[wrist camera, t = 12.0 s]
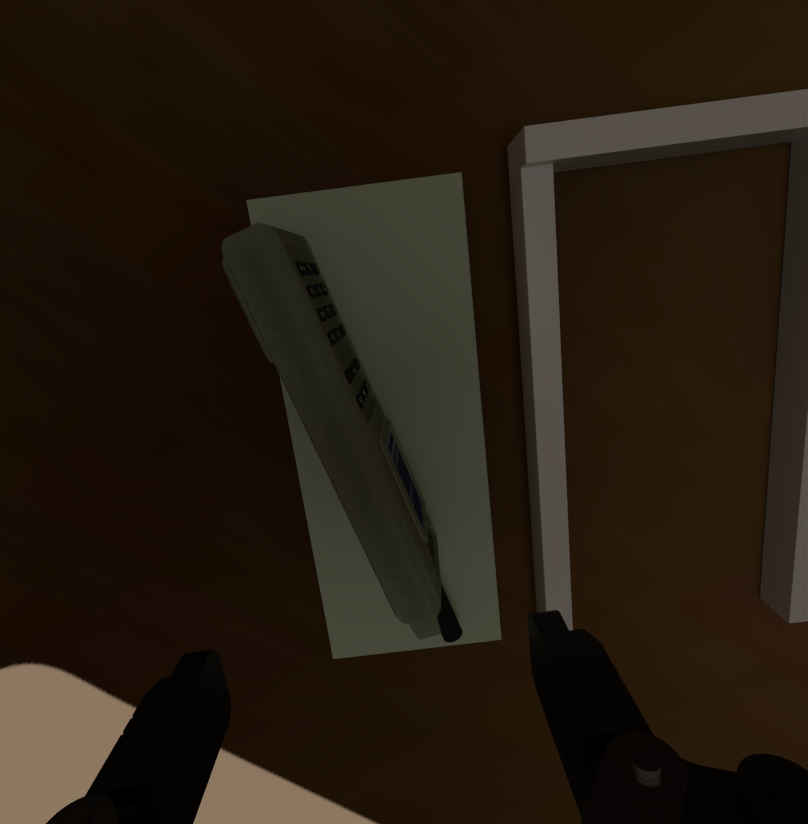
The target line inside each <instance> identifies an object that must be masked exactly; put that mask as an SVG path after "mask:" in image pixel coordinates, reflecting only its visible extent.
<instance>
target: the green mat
mask: <svg viewBox="0 0 808 824" xmlns="http://www.w3.org/2000/svg"><path fill="white" fill-rule="evenodd" d="M246 201H247V206H248V212H249V217H250V222H251V225H254V224H256V223H261V224H266V225H270V226H273V227H276V228H279V229H282V230H285V231H288V232H291V233H294V234H298V235H301V236H303V237H305V239H306V240H307V242H308V244H309V246H310V248H311V251H312V253H313V255H314V258H315V260H316V262H317V264H318V267H319V269H320V271H321V273H322V276H323V278H324V280H325V282H326V285H327V287H328V289H329V291H330V294H331V296H332V298H333V300H334V303H335V305H336V307H337V310H338V312H339V314H340V316H341V319H342V321H343V323H344V325H345V328H346V330H347V332H348V334H349V337H350V339H351V341H352V343H353V346H354V348H355V350H356V353H357V355H358V357H359V359H360V362H361V364H362V366H363V368H364V371H365V373H366V375H367V377H368V380H369V382H370V384H371V386H372V389H373V391H374V393H375V396H376V398H377V400H378V401H379V404H380V406H381V408H382V410H383V413H384V415H385V417H386V419H387V420H389V421H390V422H391V425H392V428H393V430H394V432H395V435H396V437H397V439H398V442H399V444H400V446H401V448H402V451H403V453H404V455H405V458H406V460H407V462H408V465H409V467H410V469H411V471H412V474H413V476H414V478H415V481H416V483H417V485H418V488H419V490H420V492H421V495H422V497H423V499H424V501H425V503H426V505H425V508H426V513H427V515H428V517H429V519H430V522H431V524H432V527H433V529H434V531H435V534H436V536H437V541H438V554H439V566H440V578H441V584H442V586H443V588H444V590H445V593H446V595H447V597H448V599H449V602H450V604H451V606H452V608H453V611H454V613H455V615H456V617H457V620H458V622H459V624H460V626H461V629H462V631H463V633H462V636H461V637H460V638H459V639H458V640H457V641H455V642H451V643H449V642H445V641H444V639H443V637H442V635H441V634H439V635H436V636H432V637H428V638H424V639H420V640H419V639H418V638H417V637H416V635H415V633H414V632H413V630H412V629H411V627H410V626H409V624H404V623H402V622H401V621H400V620H399V619H398V618H397V617H396V616H395V614H394V612H393V610H392V608H391V606H390V604H389V602H388V600H387V598H386V596H385V593H384V591H383V589H382V587H381V585H380V583H379V581H378V579H377V577H376V575H375V573H374V571H373V568H372V566H371V564H370V562H369V560H368V558H367V556H366V554H365V552H364V550H363V548H362V546H361V544H360V541H359V539H358V537H357V535H356V533H355V531H354V529H353V527H352V525H351V523H350V521H349V519H348V516H347V514H346V512H345V510H344V508H343V506H342V504H341V502H340V500H339V498H338V496H337V494H336V492H335V489H334V487H333V485H332V483H331V481H330V479H329V477H328V475H327V473H326V471H325V469H324V467H323V465H322V462H321V460H320V458H319V456H318V454H317V452H316V450H315V448H314V446H313V444H312V442H311V440H310V437H309V435H308V433H307V431H306V429H305V427H304V425H303V423H302V421H301V419H300V417H299V415H298V413H297V410H296V408H295V406H294V404H293V402H292V400H291V398H290V396H289V394H288V392H287V390H286V388H285V385H284V383H283V381H282V379H281V377H280V381H281V386H282V391H283V396H284V402H285V407H286V412H287V417H288V423H289V428H290V433H291V439H292V444H293V449H294V454H295V460H296V465H297V470H298V475H299V481H300V486H301V491H302V497H303V502H304V507H305V512H306V518H307V523H308V528H309V533H310V539H311V544H312V549H313V555H314V560H315V565H316V570H317V576H318V581H319V586H320V591H321V597H322V602H323V607H324V613H325V618H326V623H327V628H328V634H329V639H330V644H331V649H332V655H333V659H338V658H346V657H355V656H364V655H372V654H381V653H390V652H398V651H407V650H416V649H424V648H433V647H442V646H450V645H459V644H468V643H476V642H485V641H494V640H501V629H500V617H499V605H498V594H497V582H496V570H495V559H494V547H493V535H492V524H491V512H490V500H489V488H488V477H487V465H486V453H485V442H484V430H483V418H482V407H481V395H480V383H479V372H478V360H477V348H476V337H475V325H474V313H473V302H472V290H471V278H470V266H469V255H468V243H467V231H466V220H465V208H464V196H463V185H462V173H461V172H459V173H452V174H444V175H436V176H429V177H421V178H413V179H406V180H398V181H390V182H383V183H375V184H367V185H360V186H352V187H344V188H336V189H329V190H321V191H313V192H306V193H298V194H290V195H283V196H275V197H267V198H260V199H252V200H246Z"/></svg>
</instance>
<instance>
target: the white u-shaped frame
mask: <svg viewBox="0 0 808 824" xmlns="http://www.w3.org/2000/svg"><path fill="white" fill-rule="evenodd" d="M786 142H791V154H790V168H789V183H788V197H787V212H786V226H785V241H784V255H783V270H782V284H781V299H780V313H779V328H778V342H777V357H776V371H775V386H774V400H773V414H772V429H771V443H770V458H769V472H768V487H767V501H766V516H765V530H764V545H763V559H762V574H761V588H760V598H761V599H762V600H763V601H764V602H765V603H766V604H768V605H769V606H770V607H771V608H772V609H773V610H774V611H776V612H777V613H778V614H779V615H780V616H781V617H782V618H784V619H785V620H786V621H787V622H788V623H796V622H804V621H808V89H805V90H797V91H790V92H782V93H774V94H767V95H759V96H751V97H744V98H736V99H729V100H721V101H713V102H706V103H698V104H691V105H683V106H675V107H668V108H660V109H653V110H645V111H637V112H630V113H622V114H614V115H607V116H599V117H592V118H584V119H576V120H569V121H561V122H554V123H546V124H538V125H531V126H524V127H523V128H522V130H521V131H520V132H519V133H518V134H517V136H516V137H515V138H514V139H513V140H512V142H511V143H510V144H509V145H508V146H507V151H508V167H509V183H510V198H511V214H512V230H513V246H514V262H515V277H516V293H517V309H518V325H519V341H520V357H521V372H522V388H523V404H524V420H525V436H526V451H527V467H528V483H529V499H530V515H531V531H532V546H533V562H534V578H535V594H536V610H537V612H544V611H553V610H558V611H559V612H560V613H561V615H562V617H563V619H564V621H565V623H566V625H567V627H568V629H569V631H571V630H573V628H572V604H571V581H570V557H569V533H568V510H567V486H566V462H565V439H564V415H563V391H562V368H561V344H560V320H559V297H558V273H557V249H556V226H555V202H554V178H553V173H555V172H563V171H570V170H578V169H586V168H593V167H601V166H609V165H617V164H624V163H632V162H640V161H647V160H655V159H663V158H671V157H678V156H686V155H694V154H701V153H709V152H717V151H724V150H732V149H740V148H748V147H755V146H763V145H771V144H778V143H786Z"/></svg>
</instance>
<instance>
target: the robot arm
mask: <svg viewBox="0 0 808 824" xmlns="http://www.w3.org/2000/svg"><path fill="white" fill-rule="evenodd" d="M528 624H529V640H530V656H531V668H532V674H533V679H534V683H535V687H536V690H537V693H538V696H539V699H540V702H541V704H542V707H543V710H544V713H545V716H546V719H547V721H548V724H549V727H550V730H551V733H552V736H553V739H554V741H555V744H556V747H557V750H558V753H559V756H560V758H561V761H562V764H563V767H564V770H565V773H566V775H567V778H568V781H569V784H570V787H571V790H572V792H573V795H574V798H575V801H576V804H577V807H578V809H579V812H580V815H581V818H582V821H581V824H808V771H807V770H806V769H804V768H803V767H801V766H799V765H798V764H796V763H794V762H792V761H790V760H787V759H785V758H782V757H779V756H775V755H770V754H754V755H750V756H748V757H746V758H744V759H743V760H742V761H741V762H740V763H739V766H738V768H737V772H732V771H727V770H722V769H716V768H711V767H706V766H701V765H697V764H694V763H691V762H688V761H686V760H684V759H682V758H680V756H679V755H678V754H677V752H676V751H675V750H674V749H673V748H672V747H671V746H669V745H668V744H667V743H666V742H664V741H662V740H661V739H659V738H657V737H655V736H654V735H653V733H652V732H651V730H650V728H649V726H648V725H647V723H646V721H645V719H644V718H643V716H642V714H641V712H640V711H639V709H638V707H637V705H636V704H635V702H634V700H633V698H632V697H631V695H630V693H629V691H628V690H627V688H626V686H625V684H624V683H623V681H622V679H621V678H619V674H618V672H617V670H616V669H615V667H614V665H613V663H611V661H610V658H609V656H608V655H607V653H606V651H605V650H604V648H603V646H602V644H601V643H600V642H599V641H598V640H597V639H595V638H594V637H593V636H592V635H591V634H589V633H588V632H587V631H586V630H585V629H579V630H571V631H569V629H568V627H567V625H566V623H565V621H564V619H563V617H562V615H561V613H560V612H559V611H558V610H553V611H544V612H536V613H529V615H528ZM230 714H231V701H230V695H229V691H228V688H227V684H226V680H225V676H224V672H223V668H222V664H221V661H220V657H219V654H218V652H217V651H216V650H208V651H200V652H192V653H185V654H184V655H183V656H182V657H181V659H180V660H179V662H178V664H177V666H176V668H175V669H174V671H173V673H172V675H171V677H166V678H162V679H161V680H160V681H159V682H157V683H156V684H155V685H154V686H153V687H152V688H151V689H150V690H149V691H148V692H147V693H146V694H145V695H144V697H143V698H142V700H141V702H140V703H139V705H138V707H137V709H136V710H135V712H134V714H133V718H132V719H130V721H129V722H128V724H127V726H126V727H125V729H124V731H123V735H121V736H120V738H119V739H118V741H117V743H116V744H115V746H114V748H113V749H112V751H111V753H110V755H109V756H108V758H107V760H106V761H105V763H104V765H103V766H102V768H101V770H100V772H99V773H98V775H97V777H96V778H95V780H94V782H93V783H92V785H91V787H90V789H89V790H88V792H87V794H86V795H85V797H83V798H80V799H78V800H76V801H74V802H72V803H70V804H69V805H67V806H66V807H64V808H63V809H62V810H60V811H59V812H58V813H56V814H55V815H54V816H53V817H52V818H51V819H50V820H49V821H48V822H47V823H46V824H193V822H194V820H195V817H196V814H197V811H198V808H199V806H200V803H201V800H202V797H203V794H204V792H205V789H206V786H207V783H208V781H209V778H210V775H211V772H212V770H213V767H214V764H215V761H216V758H217V756H218V753H219V750H220V747H221V745H222V742H223V739H224V736H225V734H226V731H227V728H228V725H229V721H230Z"/></svg>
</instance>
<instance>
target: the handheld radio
mask: <svg viewBox="0 0 808 824" xmlns="http://www.w3.org/2000/svg"><path fill="white" fill-rule="evenodd" d="M221 249H222V256H223V258H224V259H223V261H222V265H223V269H224V272H225V274H226V276H227V278H228V280H229V282H230V284H231V286H232V288H233V291H234V293H235V295H236V297H237V299H238V301H239V303H240V305H241V307H242V309H243V311H244V313H245V315H246V317H247V320H248V322H249V324H250V326H251V328H252V330H253V332H254V334H255V336H256V338H257V340H258V342H259V344H260V346H261V348H262V351H263V353H264V355H265V357H266V358H267V359H268V360H269V361H270V362H272V363H274V365H275V367H276V369H277V371H278V373H279V375H280V377H281V379H282V381H283V383H284V385H285V388H286V390H287V392H288V394H289V396H290V398H291V400H292V402H293V404H294V406H295V408H296V410H297V413H298V415H299V417H300V419H301V421H302V423H303V425H304V427H305V429H306V431H307V433H308V435H309V437H310V440H311V442H312V444H313V446H314V448H315V450H316V452H317V454H318V456H319V458H320V460H321V462H322V465H323V467H324V469H325V471H326V473H327V475H328V477H329V479H330V481H331V483H332V485H333V487H334V489H335V492H336V494H337V496H338V498H339V500H340V502H341V504H342V506H343V508H344V510H345V512H346V514H347V516H348V519H349V521H350V523H351V525H352V527H353V529H354V531H355V533H356V535H357V537H358V539H359V541H360V544H361V546H362V548H363V550H364V552H365V554H366V556H367V558H368V560H369V562H370V564H371V566H372V568H373V571H374V573H375V575H376V577H377V579H378V581H379V583H380V585H381V587H382V589H383V591H384V593H385V596H386V598H387V600H388V602H389V604H390V606H391V608H392V610H393V612H394V614H395V616H396V617H397V618H398V619H399V620H400V621H401V622H402V623H404V624H409V626H410V627H411V629H412V630H413V632H414V633H415V635H416V637H417V638H418V639H419V640H420V639H424V638H428V637H432V636H436V635H439V634H441V635H442V637H443V639H444V641H445V642H449V643H451V642H455V641H457V640H458V639H459V638H460V637H461V636H462V633H463V631H462V629H461V626H460V624H459V622H458V620H457V617H456V615H455V613H454V611H453V608H452V606H451V604H450V602H449V599H448V597H447V595H446V593H445V590H444V588H443V586H442V584H441V578H440V566H439V554H438V541H437V536H436V534H435V531H434V529H433V527H432V524H431V522H430V519H429V517H428V515H427V513H426V508H425V505H426V503H425V501H424V499H423V497H422V495H421V492H420V490H419V488H418V485H417V483H416V481H415V478H414V476H413V474H412V471H411V469H410V467H409V465H408V462H407V460H406V458H405V455H404V453H403V451H402V448H401V446H400V444H399V442H398V439H397V437H396V435H395V432H394V430H393V428H392V425H391V422H390V421H389V420H387V419H386V417H385V415H384V413H383V410H382V408H381V406H380V404H379V401H378V400H377V398H376V396H375V393H374V391H373V389H372V386H371V384H370V382H369V380H368V377H367V375H366V373H365V371H364V368H363V366H362V364H361V362H360V359H359V357H358V355H357V353H356V350H355V348H354V346H353V343H352V341H351V339H350V337H349V334H348V332H347V330H346V328H345V325H344V323H343V321H342V319H341V316H340V314H339V312H338V310H337V307H336V305H335V303H334V300H333V298H332V296H331V294H330V291H329V289H328V287H327V285H326V282H325V280H324V278H323V276H322V273H321V271H320V269H319V267H318V264H317V262H316V260H315V258H314V255H313V253H312V251H311V248H310V246H309V244H308V242H307V240H306V239H305V237H303V236H301V235H298V234H294V233H291V232H288V231H285V230H282V229H279V228H276V227H273V226H270V225H266V224H261V223H256V224H254V225H251V226H249V227H247V228H245V229H243V230H241V231H239V232H237V233H235V234H233V235H231V236H229V237H227V238H225V239H224V240H223V241H222V247H221Z"/></svg>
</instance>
